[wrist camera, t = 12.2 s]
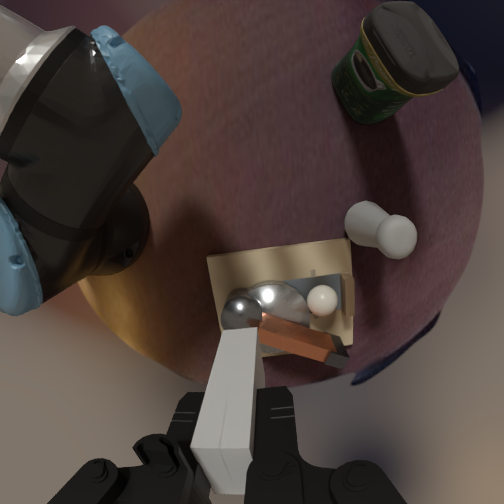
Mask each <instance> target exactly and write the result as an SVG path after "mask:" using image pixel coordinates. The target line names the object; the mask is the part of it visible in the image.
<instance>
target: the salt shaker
mask: <svg viewBox="0 0 504 504" xmlns="http://www.w3.org/2000/svg"><path fill="white" fill-rule="evenodd" d="M345 231H346V233H347V235H348V237H349V239H351V240H352V241H353V242H354V243H356V244H357V245H361V246H368V247H376V248H379V250H380V251H381V252H382V253H383V254H384V255H385V256H387V257H388V258H393V259H402V258H405V257H407V256H408V255H409V254H410V253H411V252H412V251H413V250H414V247H415V245H416V243H417V231H416V228H415V226H414V224H413V223H412V222H411V221H410V220H409V219H407V218H406V217H404V216H400V215H391V216H390V215H389V214H388V213H387V212H385V211H384V210H383V209H382V208H380V207H379V206H378V205H377V204H376V203H373V202H369V201H363V202H359V203H356V204H355V205H353V206H352V207H351V208H350V209H349V210H348V212H347V215H346V217H345Z"/></svg>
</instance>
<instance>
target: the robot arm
mask: <svg viewBox="0 0 504 504" xmlns="http://www.w3.org/2000/svg"><path fill="white" fill-rule="evenodd" d="M90 34H91V36H88V35H86V34H85V33H83V32H81V31H80V30H79V29H77V28H76V27H74V26H71V27H67V28H63V29H59V30H55V31H49V32H45V31H44V30H42V29H40V28H39V27H37V26H35V25H34V24H32V23H31V22H29V21H27V20H25V19H24V18H22V17H20V16H19V15H17V14H15V13H13V12H12V11H10V10H8V9H6V8H4V7H2V6H1V5H0V158H1V159H2V160H4V161H6V162H8V165H7V167H6V169H5V172H4V174H3V176H2V178H1V181H0V311H1V312H3V313H7V314H9V315H11V316H18V315H22V314H24V313H26V312H28V311H30V310H33V309H37V308H39V307H40V305H41V304H42V303H44V302H46V301H47V300H49V299H50V298H52V297H54V296H55V295H57V294H58V293H60V292H62V291H63V290H65V289H66V288H68V287H70V286H72V285H73V284H75V283H77V282H78V281H80V280H82V279H83V278H85V277H86V276H88V275H94V276H107V275H112V274H116V273H118V272H120V271H122V270H124V269H125V268H127V267H129V266H130V265H131V264H133V263H134V262H135V261H136V260H137V259H138V257H139V256H140V255H141V253H142V251H143V249H144V247H145V245H146V242H147V238H148V232H149V216H148V210H147V206H146V203H145V201H144V198H143V196H142V194H141V193H140V191H139V190H138V188H137V187H136V186H135V185H134V183H133V182H134V181H135V180H136V178H137V177H138V176H139V174H140V173H141V172H142V171H143V169H144V168H145V167H146V166H147V164H148V163H149V162H150V161H151V159H152V158H153V157H154V156H155V157H156V156H157V155H158V153H159V149H160V147H161V146H162V145H163V143H164V142H165V141H166V139H167V138H168V137H169V136H170V134H171V133H172V132H173V131H174V129H175V128H176V127H177V126H178V124H179V122H180V120H181V116H182V109H181V105H180V102H179V100H178V98H177V97H176V95H175V94H174V93H173V91H172V90H171V88H170V87H169V86H168V85H167V84H166V82H165V81H164V80H163V79H162V77H161V76H160V75H159V74H158V73H157V72H156V71H155V69H154V68H153V67H152V66H151V65H150V64H149V63H148V62H147V61H146V60H145V59H144V58H143V57H142V56H141V54H140V53H139V52H138V51H137V50H135V49H134V48H133V47H132V46H131V45H130V44H128V43H126V41H125V40H124V39H123V38H121V37H120V36H119V35H118V33H117V32H115V31H114V30H113V29H111V28H110V27H108V26H100V27H99V28H97V29H95V30H93V31H92V32H91V33H90ZM133 450H134V451H135V453H136V454H137V456H138V457H139V459H140V460H141V462H142V463H143V464H144V465H141V466H135V467H123V468H117V466H116V465H115V464H114V463H113V462H111V461H110V460H107V459H103V458H101V459H100V458H98V459H93V460H90V461H88V462H87V463H86V464H85V465H83V466H82V467H81V468H80V469H79V471H77V473H76V474H75V475H74V476H73V477H72V478H71V479H70V480H69V481H68V482H67V483H66V484H65V485H64V486H63V488H61V490H60V491H59V492H58V493H57V494H56V495H55V496H54V497H53V498H52V499H51V500H50V501H49V502H48V503H47V504H212V503H211V501H210V499H209V492H210V488H212V490H213V492H214V493H215V494H245V497H244V504H407V503H406V502H405V500H404V499H403V498H402V496H401V495H400V493H399V492H398V491H397V489H396V488H395V487H394V485H393V484H392V482H391V481H390V480H389V478H388V477H387V476H386V474H385V473H384V472H383V470H382V469H381V468H380V467H379V466H378V465H376V464H375V463H373V462H370V461H367V460H355V461H351V462H347V463H345V464H344V465H341V466H340V467H338V468H337V469H330V468H321V467H316V466H313V465H311V464H309V463H307V462H306V461H304V460H303V459H302V457H301V456H300V454H299V451H298V444H297V434H296V424H295V414H294V405H293V395H292V394H291V392H290V391H289V390H288V389H287V387H286V386H281V387H271V388H265V374H264V367H263V361H262V355H261V348H260V342H259V335H258V329H257V327H253V328H243V329H233V330H223V332H222V336H221V339H220V343H219V346H218V350H217V353H216V357H215V360H214V364H213V367H212V371H211V375H210V378H209V382H208V385H207V389H206V392H187V393H186V394H185V396H184V397H183V398H182V399H181V400H180V401H179V403H178V405H177V408H176V410H175V414H174V415H173V418H172V422H171V423H170V426H169V429H168V431H167V434H166V435H165V434H151V435H148V436H145V437H143V438H141V439H140V440H138V441H137V442H136V443H135V445H134V446H133Z"/></svg>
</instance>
